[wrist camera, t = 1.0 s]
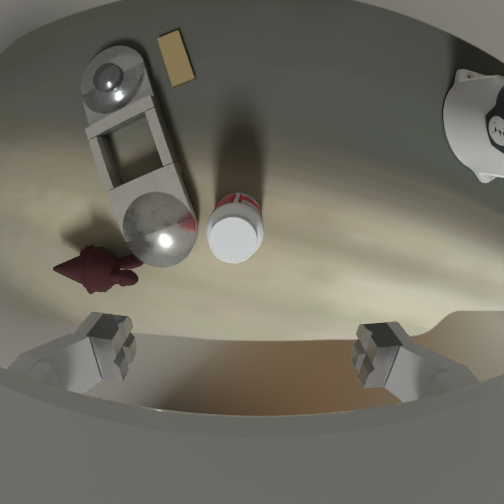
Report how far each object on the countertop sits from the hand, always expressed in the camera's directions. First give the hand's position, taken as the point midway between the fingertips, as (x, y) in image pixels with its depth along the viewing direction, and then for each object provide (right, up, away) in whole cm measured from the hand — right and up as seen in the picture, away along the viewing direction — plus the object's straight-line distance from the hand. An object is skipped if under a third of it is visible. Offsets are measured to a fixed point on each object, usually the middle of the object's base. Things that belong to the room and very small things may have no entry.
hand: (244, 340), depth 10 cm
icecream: (-22, +2, +31) cm, 38 cm away
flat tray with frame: (-15, +17, +26) cm, 34 cm away
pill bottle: (-1, +8, +29) cm, 30 cm away
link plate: (-10, +28, +22) cm, 37 cm away
